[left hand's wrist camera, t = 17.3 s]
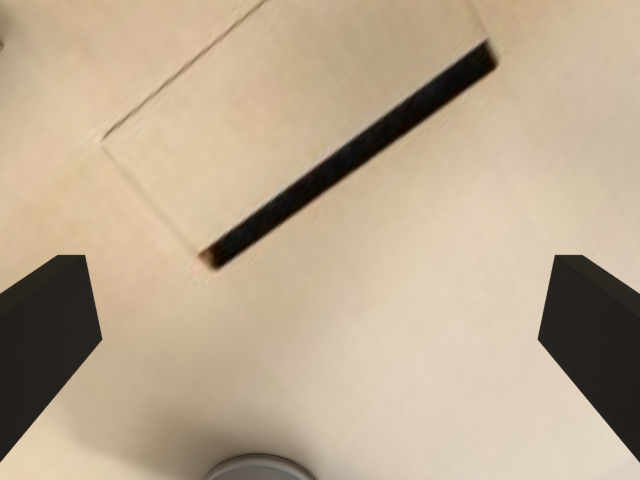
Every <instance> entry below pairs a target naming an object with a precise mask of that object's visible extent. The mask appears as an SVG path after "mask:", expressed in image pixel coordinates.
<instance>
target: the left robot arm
mask: <svg viewBox="0 0 640 480" xmlns="http://www.w3.org/2000/svg"><path fill="white" fill-rule="evenodd" d="M101 341H102V335H101V330H100V325H99V321H98V316H97V311H96V306H95V301H94V296H93V291H92V287H91V282H90V277H89V272H88V267H87V262H86V257H85V255H57V256H55V257H54V258H52V259H51V260H49V261H48V262H46V263H45V264H43V265H42V266H41V267H39V268H38V269H36V270H35V271H33V272H32V273H30V274H29V275H27V276H26V277H24V278H23V279H21V280H20V281H18V282H17V283H15V284H14V285H12V286H11V287H10V288H8V289H7V290H5V291H4V292H2V293H1V294H0V462H1V461H2V460H3V459H4V457H5V456H6V455H7V454H8V453H9V451H10V450H11V449H12V448H13V447H14V445H15V444H16V443H17V442H18V441H19V439H20V438H21V437H22V436H23V434H24V433H25V432H26V431H27V430H28V428H29V427H30V426H31V425H32V424H33V422H34V421H35V420H36V419H37V418H38V416H39V415H40V414H41V413H42V412H43V410H44V409H45V408H46V407H47V406H48V404H49V403H50V402H51V401H52V400H53V398H54V397H55V396H56V395H57V394H58V392H59V391H60V390H61V389H62V388H63V386H64V385H65V384H66V383H67V381H68V380H69V379H70V378H71V377H72V375H73V374H74V373H75V372H76V371H77V369H78V368H79V367H80V366H81V365H82V363H83V362H84V361H85V360H86V359H87V357H88V356H89V355H90V354H91V353H92V351H93V350H94V349H95V348H96V347H97V345H98V344H99V343H100V342H101ZM538 341H539V342H540V343H541V344H542V345H543V347H544V348H545V349H546V350H547V351H548V353H549V354H550V355H551V356H552V357H553V359H554V360H555V361H556V362H557V363H558V365H559V366H560V367H561V368H562V369H563V371H564V372H565V373H566V374H567V375H568V377H569V378H570V379H571V380H572V381H573V383H574V384H575V385H576V386H577V388H578V389H579V390H580V391H581V392H582V394H583V395H584V396H585V397H586V398H587V400H588V401H589V402H590V403H591V404H592V406H593V407H594V408H595V409H596V410H597V412H598V413H599V414H600V415H601V416H602V418H603V419H604V420H605V421H606V422H607V424H608V425H609V426H610V427H611V428H612V430H613V431H614V432H615V433H616V434H617V436H618V437H619V438H620V439H621V441H622V442H623V443H624V444H625V445H626V447H627V448H628V449H629V450H630V451H631V453H632V454H633V455H634V456H635V457H636V459H637V460H638V461H639V462H640V294H639V293H638V292H636V291H635V290H633V289H632V288H630V287H629V286H628V285H626V284H625V283H623V282H622V281H620V280H619V279H617V278H616V277H614V276H613V275H611V274H610V273H608V272H607V271H605V270H604V269H602V268H601V267H599V266H598V265H597V264H595V263H594V262H592V261H591V260H589V259H588V258H586V257H585V256H583V255H555V257H554V262H553V267H552V272H551V277H550V282H549V287H548V291H547V296H546V301H545V306H544V311H543V316H542V321H541V325H540V330H539V335H538ZM204 480H314V479H313V477H312V476H311V475H310V474H309V473H308V472H307V471H306V470H304V469H303V468H302V467H300V466H299V465H297V464H295V463H293V462H291V461H289V460H286V459H283V458H280V457H276V456H271V455H261V454H253V455H244V456H239V457H235V458H232V459H229V460H227V461H225V462H222V463H221V464H219V465H217V466H216V467H215V468H213V469H212V470H211V471H210V472H209V473H208V474H207V475H206V477H205V478H204Z"/></svg>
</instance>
